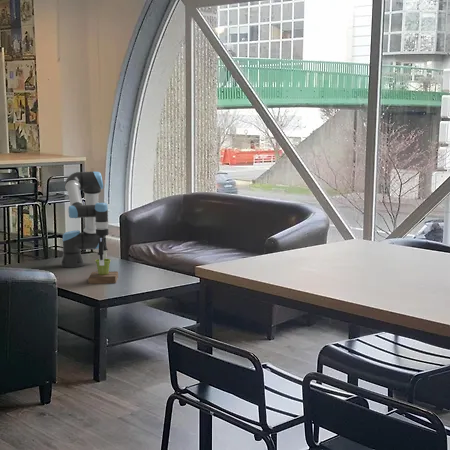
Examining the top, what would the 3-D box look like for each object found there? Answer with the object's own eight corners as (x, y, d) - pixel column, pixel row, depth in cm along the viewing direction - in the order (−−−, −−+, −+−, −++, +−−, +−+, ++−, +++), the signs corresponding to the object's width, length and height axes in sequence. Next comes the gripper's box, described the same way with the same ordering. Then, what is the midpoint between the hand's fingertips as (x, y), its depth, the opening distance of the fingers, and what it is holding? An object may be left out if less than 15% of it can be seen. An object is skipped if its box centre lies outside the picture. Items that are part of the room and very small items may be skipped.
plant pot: (114, 273, 429) (114, 259, 428) (104, 276, 421) (103, 262, 420) (102, 272, 434) (102, 258, 433) (92, 274, 426) (91, 260, 425)
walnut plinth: (92, 278, 436) (92, 271, 435) (118, 277, 436) (118, 271, 436) (88, 283, 420) (88, 277, 419) (115, 283, 420) (115, 276, 420)
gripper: (98, 225, 436) (99, 259, 439) (92, 231, 411) (94, 267, 414) (110, 225, 436) (111, 259, 439) (105, 231, 412) (106, 267, 414)
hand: (103, 263), depth 427 cm, fingers open, 13 cm apart
